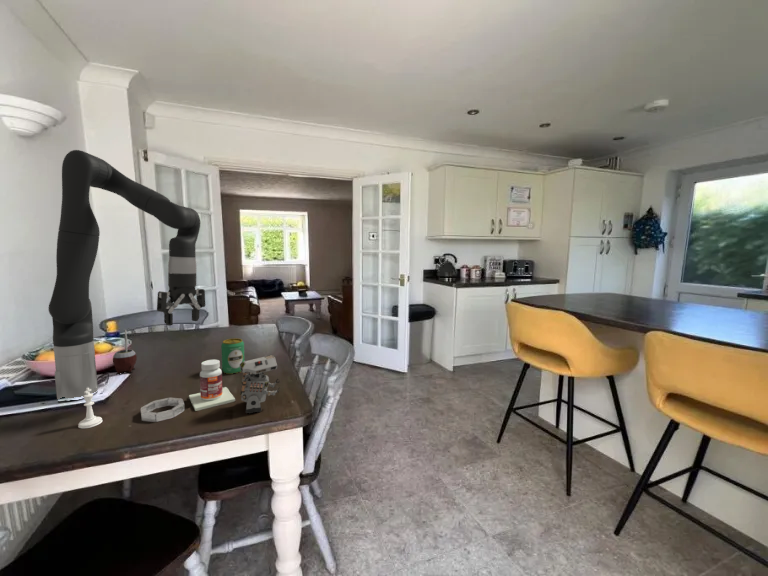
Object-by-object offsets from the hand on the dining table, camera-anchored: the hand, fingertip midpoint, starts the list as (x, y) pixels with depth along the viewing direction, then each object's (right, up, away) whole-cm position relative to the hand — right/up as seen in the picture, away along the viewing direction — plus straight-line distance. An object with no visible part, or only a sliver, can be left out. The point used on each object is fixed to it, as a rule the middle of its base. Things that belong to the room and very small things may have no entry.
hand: (182, 322), depth 105 cm
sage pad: (+9, -24, 0) cm, 26 cm away
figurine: (+26, -25, -3) cm, 36 cm away
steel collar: (0, -25, -9) cm, 26 cm away
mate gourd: (-34, -21, +21) cm, 46 cm away
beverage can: (+5, -21, +25) cm, 33 cm away
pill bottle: (+9, -24, 0) cm, 25 cm away
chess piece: (-15, -26, -15) cm, 34 cm away
